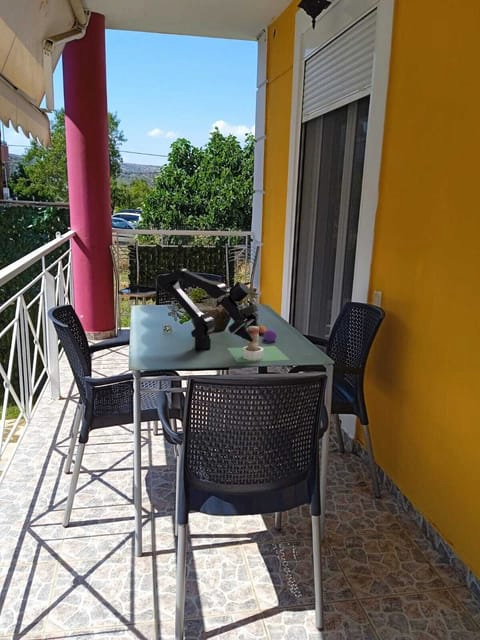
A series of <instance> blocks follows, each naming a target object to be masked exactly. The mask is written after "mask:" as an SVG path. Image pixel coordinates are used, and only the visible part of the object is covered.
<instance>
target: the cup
mask: <svg viewBox="0 0 480 640" xmlns="http://www.w3.org/2000/svg"><path fill="white" fill-rule="evenodd" d="M262 347H263V346H259V345H258V351H248V350H247V349H248V345H247V346H243V347H242V348H243V350H242V357H243V358H244V359H247V360H260V359H262V358H263V353H264V349H263V348H262Z"/></svg>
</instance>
